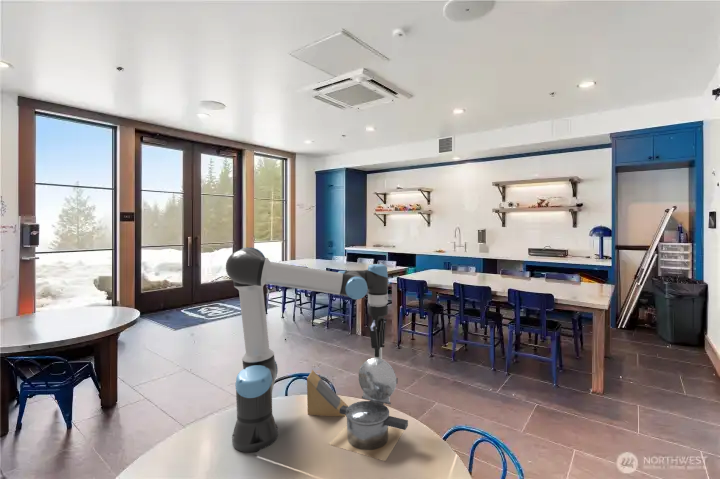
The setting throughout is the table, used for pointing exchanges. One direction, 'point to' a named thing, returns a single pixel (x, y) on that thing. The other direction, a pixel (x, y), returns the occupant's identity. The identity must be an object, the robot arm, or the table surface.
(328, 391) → the sandwich container
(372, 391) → the lid
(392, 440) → the trivet
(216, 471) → the table surface
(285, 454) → the table surface
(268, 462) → the table surface
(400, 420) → the pot
